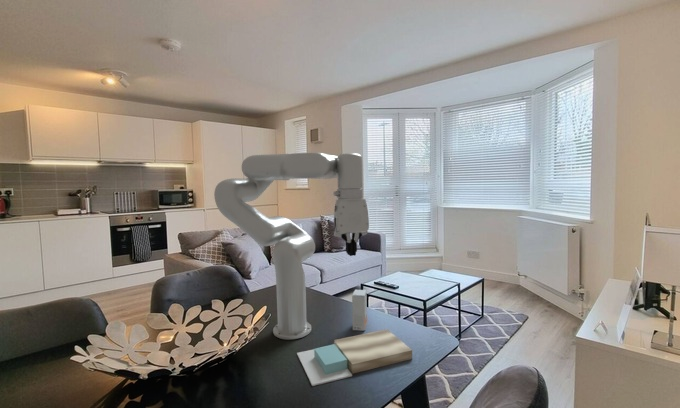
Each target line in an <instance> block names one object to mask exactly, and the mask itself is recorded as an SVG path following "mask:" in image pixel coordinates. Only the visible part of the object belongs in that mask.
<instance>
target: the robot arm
mask: <svg viewBox="0 0 680 408" xmlns="http://www.w3.org/2000/svg"><path fill="white" fill-rule="evenodd" d="M241 171H242V174H243V175H244V176H245V177H246V178H227V179H224V180H222V181H220V182H218V183H217V185H216V186H215V188H214V197H213V198H214V200H215V201H214V202H215V205H216V207H217V209H218V211H219V212H220V213H221V215H223V216H224V217H225V218H226V219H227V220H228V221H230V222H231V223H233V224H234V225H235V226H237V227H238V228H239V229H240V230H242V232H244V233H245V234H246V235H248V237H250V238H251V239H253V241H255V242H256V243H257V244H259V245H261V246H263V247H269V246H273V248H272V262H273V266H274V270H275V285H276V309H277V311H276V312H277V314H276V315H277V324H275V326H274V327H273V329H272V333H273V335H274V336H275V337H277V338H279V339H282V340H297V339H301V338H304V337H306V336H308V335H309V334H310V333H311V331H312V324H310V323H309V322H308V321H307V295H306V294H307V293H306V292H307V291H306V290H307V289H306V286H307V285H306V274H305V271H304V268H303V262H304V261H306V260H308V259H310V258H311V257H313V255H314V253H315V251H316V243H315V240H314V239H313V237H312V236H311V235H310V234H309V233H307V232H306V231H305V230H304V229H302V228H301V227H299V226H298V225H297V224H296V223H295V222H293V221H292V220H290V219H289V218H287V217H285V216H280V215H275V216H267V215H265V214H264V213H262V212H261V211H260V210H258V209H257V208H256V207H255V206H252V205H250V204H248V203H247V202H250V203H251V202H254V201H255V200H257V199H258V198H260V196H262V194H263V193H264V192H266V190H267V189H268V188H269V187H270V186H271V185H272V183H273V182H275V181H289V180H294V179H313V180H314V179H323V180H324V179H325V180H326V179H327V180H329V179H330V180H331V179H337V189H336V191H333V196H334V197H337V199H336V200H335V203H334V205H335V206H334V213H333V230H334V232H333V236H334V237H336V238H341V239H342V240H343V241H344V242H345V253H346V254H347V255H348V256H350V257H354V256H356V254H357V252H358V246H357V245H358V243H359V240H360V238H362V236H366V235H367V234H368V233H369V229H370V219H369V210H368V204H367V200H366V198H363V197H364V196H363V195H364V190H363V185H364V184H363V181H364V179H363V156H362V155H361V154H360V153H355V152H352V153H350V152H347V153H341V154H339V155H333V154H328V153H325V152H324V153H323V152H299V153H298V152H295V153H278V154H277V153H275V154H274V153H273V154H254V155H249V156H247V157H246V158H244V159H243V161H242V162H241Z"/></svg>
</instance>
